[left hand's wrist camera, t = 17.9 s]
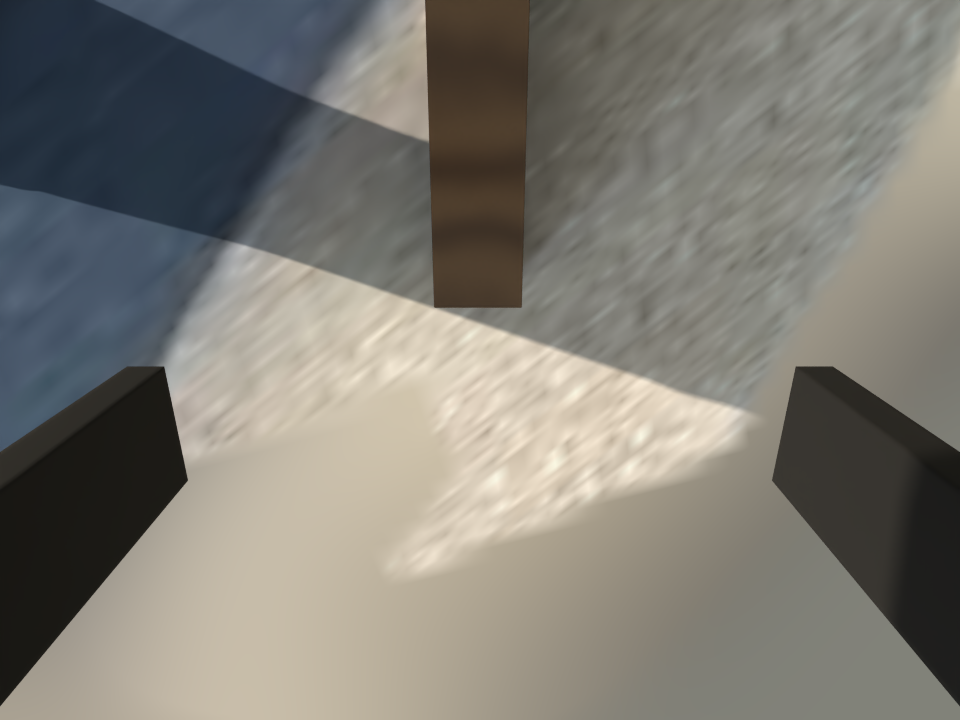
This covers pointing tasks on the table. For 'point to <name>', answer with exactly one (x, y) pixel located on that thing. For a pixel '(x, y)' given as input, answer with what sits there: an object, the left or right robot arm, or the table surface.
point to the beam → (477, 149)
